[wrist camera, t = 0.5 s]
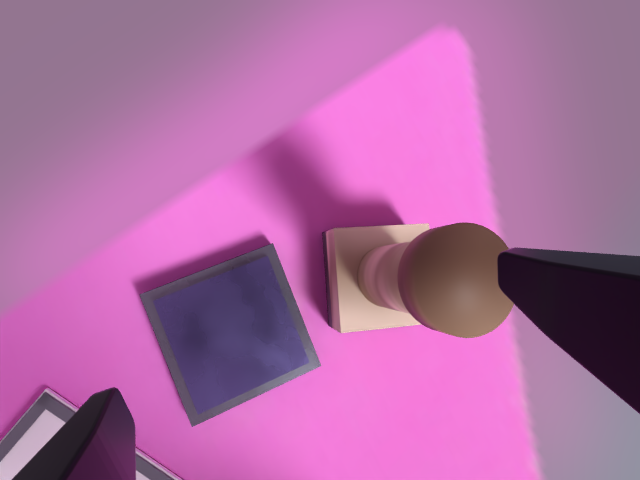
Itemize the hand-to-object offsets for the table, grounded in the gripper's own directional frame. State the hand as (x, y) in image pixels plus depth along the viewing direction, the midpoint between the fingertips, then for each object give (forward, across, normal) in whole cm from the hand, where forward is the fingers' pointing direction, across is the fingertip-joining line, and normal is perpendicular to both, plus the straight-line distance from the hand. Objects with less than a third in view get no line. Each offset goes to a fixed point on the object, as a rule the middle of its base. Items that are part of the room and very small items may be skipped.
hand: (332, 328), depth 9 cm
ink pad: (+14, +3, +8) cm, 17 cm away
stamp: (+15, -7, +7) cm, 18 cm away
